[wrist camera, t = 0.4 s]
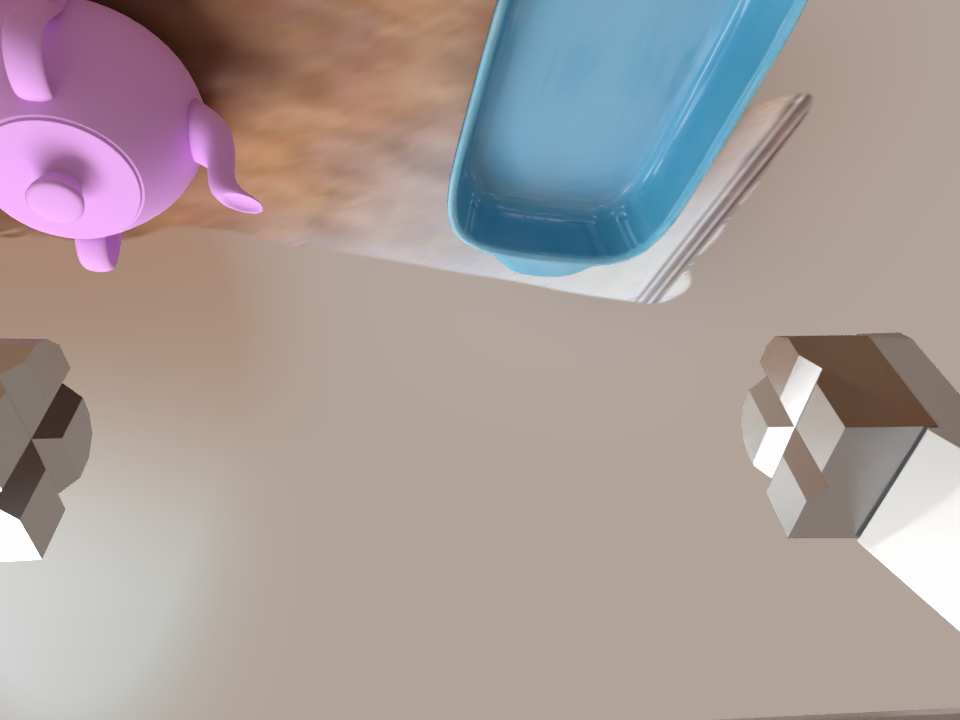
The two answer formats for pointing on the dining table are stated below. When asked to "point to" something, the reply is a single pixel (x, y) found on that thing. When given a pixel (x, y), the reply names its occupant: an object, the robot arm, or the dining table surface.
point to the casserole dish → (602, 122)
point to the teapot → (100, 126)
